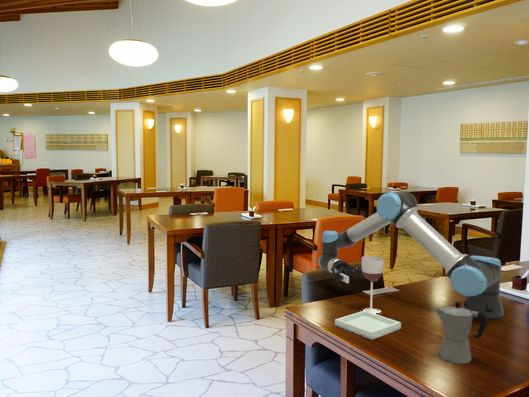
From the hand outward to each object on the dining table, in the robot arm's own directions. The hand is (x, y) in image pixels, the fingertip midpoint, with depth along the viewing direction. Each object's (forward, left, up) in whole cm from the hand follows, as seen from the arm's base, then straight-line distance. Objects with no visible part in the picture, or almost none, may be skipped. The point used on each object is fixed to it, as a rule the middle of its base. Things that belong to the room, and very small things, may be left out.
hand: (362, 278), depth 194 cm
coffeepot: (-53, +17, -12) cm, 56 cm away
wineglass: (-7, +2, -12) cm, 14 cm away
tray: (-18, +18, -12) cm, 28 cm away
